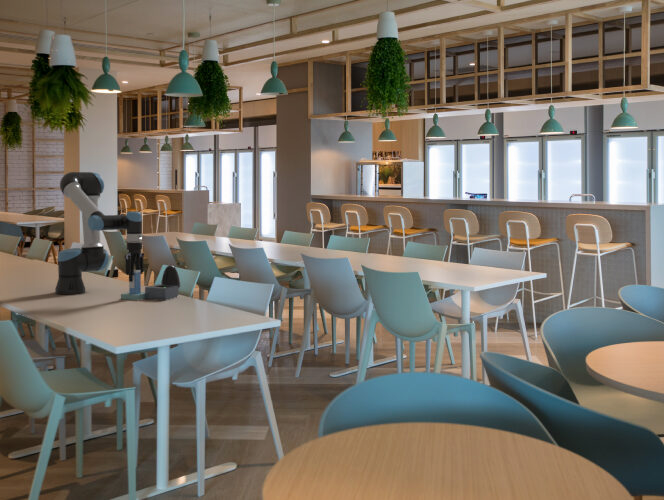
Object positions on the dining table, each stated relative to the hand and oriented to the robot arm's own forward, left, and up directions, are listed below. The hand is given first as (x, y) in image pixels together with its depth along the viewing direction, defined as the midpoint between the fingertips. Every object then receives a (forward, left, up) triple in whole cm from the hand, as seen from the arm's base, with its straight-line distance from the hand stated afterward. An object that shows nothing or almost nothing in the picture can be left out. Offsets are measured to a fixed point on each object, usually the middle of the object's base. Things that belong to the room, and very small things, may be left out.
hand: (134, 287), depth 355 cm
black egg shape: (+8, +21, -6) cm, 23 cm away
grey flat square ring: (0, 0, -6) cm, 6 cm away
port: (+12, +6, -6) cm, 15 cm away
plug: (0, 0, -6) cm, 6 cm away
